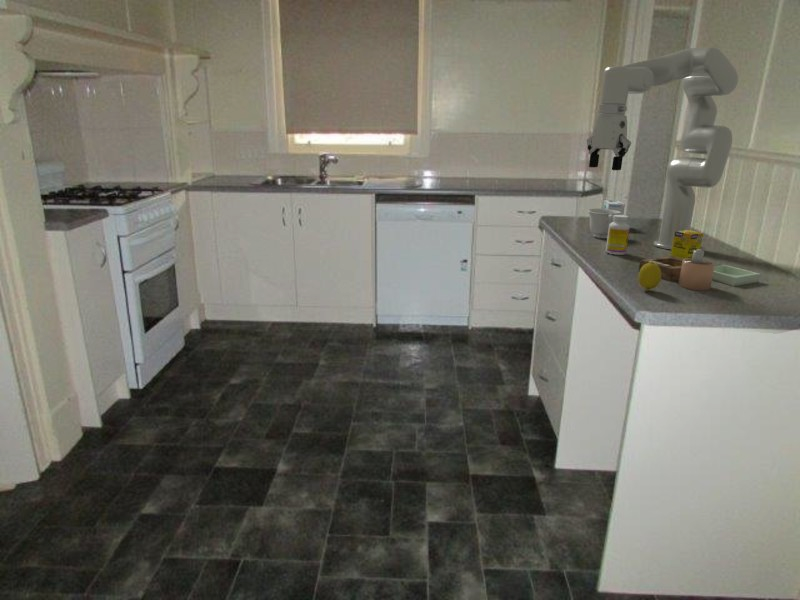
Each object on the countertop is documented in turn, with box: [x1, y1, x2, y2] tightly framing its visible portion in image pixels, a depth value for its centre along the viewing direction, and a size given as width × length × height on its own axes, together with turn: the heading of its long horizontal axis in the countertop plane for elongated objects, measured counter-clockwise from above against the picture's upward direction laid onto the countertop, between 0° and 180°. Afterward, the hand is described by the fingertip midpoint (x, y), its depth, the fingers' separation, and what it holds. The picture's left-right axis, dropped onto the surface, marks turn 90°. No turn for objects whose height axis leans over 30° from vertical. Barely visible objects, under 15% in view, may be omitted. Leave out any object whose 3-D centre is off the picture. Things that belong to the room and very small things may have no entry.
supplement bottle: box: [605, 214, 631, 256], centre depth 192 cm, size 7×7×13 cm
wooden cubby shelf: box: [638, 255, 683, 282], centre depth 170 cm, size 14×11×4 cm
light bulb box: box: [602, 199, 626, 215], centre depth 240 cm, size 11×7×11 cm, turn 172°
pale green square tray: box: [712, 264, 761, 287], centre depth 165 cm, size 11×11×2 cm
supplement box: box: [670, 229, 704, 259], centre depth 178 cm, size 6×6×11 cm
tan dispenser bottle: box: [678, 248, 716, 291], centre depth 156 cm, size 8×8×10 cm
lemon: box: [637, 262, 662, 291], centre depth 151 cm, size 6×6×8 cm
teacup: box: [587, 208, 621, 239], centre depth 218 cm, size 12×15×10 cm
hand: (604, 168), depth 177 cm, fingers open, 9 cm apart
